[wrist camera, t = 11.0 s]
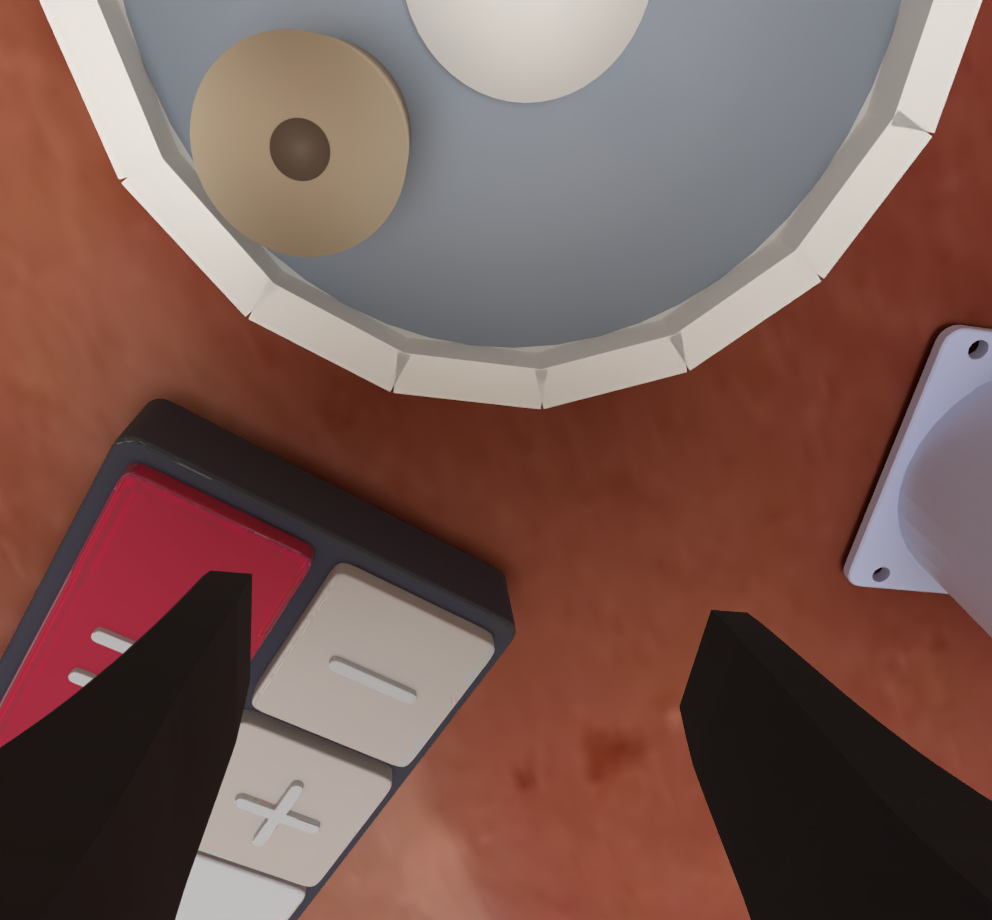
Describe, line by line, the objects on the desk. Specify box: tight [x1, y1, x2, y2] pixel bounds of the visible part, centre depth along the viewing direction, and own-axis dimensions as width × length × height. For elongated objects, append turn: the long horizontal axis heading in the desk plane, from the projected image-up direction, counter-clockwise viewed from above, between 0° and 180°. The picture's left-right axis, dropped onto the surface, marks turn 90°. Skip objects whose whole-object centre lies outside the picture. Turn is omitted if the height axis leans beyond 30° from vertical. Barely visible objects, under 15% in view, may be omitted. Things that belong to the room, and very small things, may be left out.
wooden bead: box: [190, 29, 411, 257], centre depth 15 cm, size 4×4×4 cm
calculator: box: [0, 399, 515, 920], centre depth 23 cm, size 11×4×15 cm
